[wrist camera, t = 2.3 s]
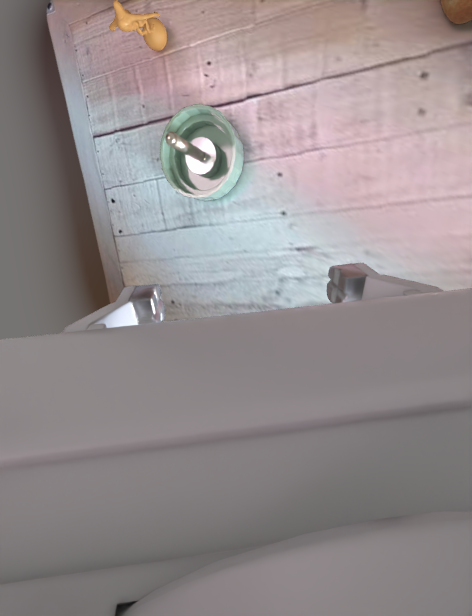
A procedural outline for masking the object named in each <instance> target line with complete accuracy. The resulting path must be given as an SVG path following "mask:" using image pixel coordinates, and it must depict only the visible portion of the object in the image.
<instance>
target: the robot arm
mask: <svg viewBox="0 0 472 616" xmlns="http://www.w3.org/2000/svg"><path fill="white" fill-rule="evenodd" d="M328 276H329V278H330V279H331V280H330V281H329V283H328V284H327V296H328V299H329V300H330V302H332V304H323V305H314V306H304V307H295V308H286V309H277V310H268V311H259V312H250V313H240V314H231V315H222V316H213V317H204V318H195V319H186V320H176V321H167V322H163V321H164V320H165V306H164V301H162V300H161V299H160V296H161V289H160V286H159V284H154V285H142V286H129V287H124V289H123V291H122V292H121V294H120V296H119V297H118V299H117V301H116V302H115V303H111V304H109V305H107V306H105V307H103V308H101V309H100V310H98V311H96V312H94V313H92V314H90V315H88V316H86V317H84V318H83V319H80V320H79V321H77V322H75V323H73V324H71V325H69V326H67V327H66V328H65V329H64V331H63V332H62V333H57V334H48V335H39V336H29V337H20V338H12V339H2V340H0V616H472V288H470V289H461V290H451V291H443V290H441V289H439V288H438V287H435V286H430V285H426V284H422V283H417V282H413V281H409V280H405V279H400V278H396V277H392V276H387V275H380V274H378V273H377V272H376V271H374V270H373V269H371V268H370V267H369V266H367V265H366V264H364V263H355V264H345V265H337V266H332V267H330V269H329V273H328Z"/></svg>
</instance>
